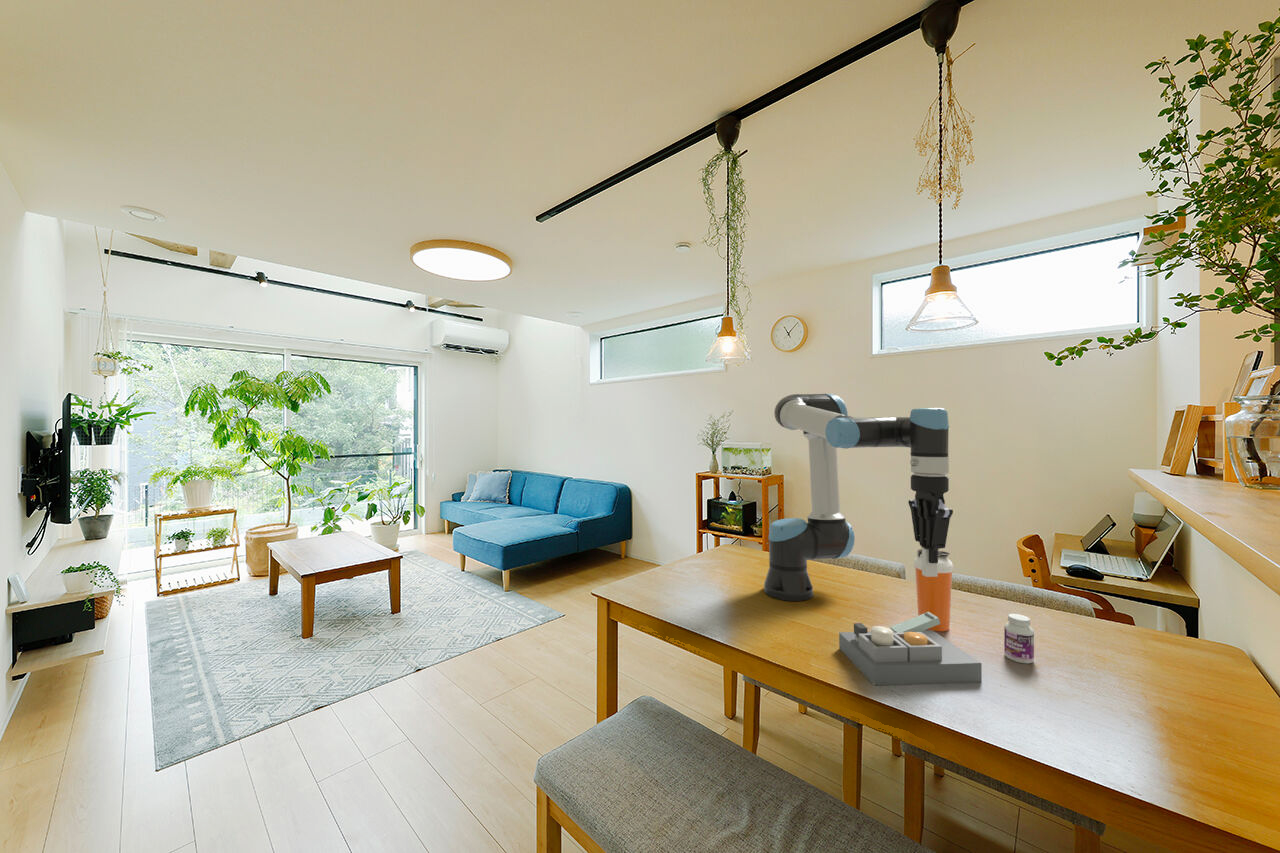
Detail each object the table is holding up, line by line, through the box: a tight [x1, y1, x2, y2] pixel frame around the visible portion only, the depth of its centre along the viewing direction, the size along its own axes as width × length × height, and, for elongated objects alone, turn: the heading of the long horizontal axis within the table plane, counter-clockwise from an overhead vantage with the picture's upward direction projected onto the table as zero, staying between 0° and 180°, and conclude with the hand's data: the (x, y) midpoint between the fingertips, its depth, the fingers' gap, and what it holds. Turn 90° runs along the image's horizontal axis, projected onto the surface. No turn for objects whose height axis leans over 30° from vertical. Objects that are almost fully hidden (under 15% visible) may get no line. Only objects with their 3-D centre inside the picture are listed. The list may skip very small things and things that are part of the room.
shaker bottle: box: [913, 548, 954, 632], centre depth 126 cm, size 9×9×20 cm
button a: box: [870, 625, 894, 646], centre depth 103 cm, size 4×4×3 cm
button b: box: [904, 632, 927, 645], centre depth 103 cm, size 4×4×3 cm
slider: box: [853, 622, 869, 637], centre depth 110 cm, size 3×2×2 cm, turn 2°
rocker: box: [889, 612, 940, 633], centre depth 110 cm, size 4×10×2 cm, turn 92°
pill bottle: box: [1003, 613, 1035, 664], centre depth 109 cm, size 5×5×10 cm
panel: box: [838, 629, 983, 686], centre depth 106 cm, size 16×23×7 cm
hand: (929, 575), depth 109 cm, fingers closed
